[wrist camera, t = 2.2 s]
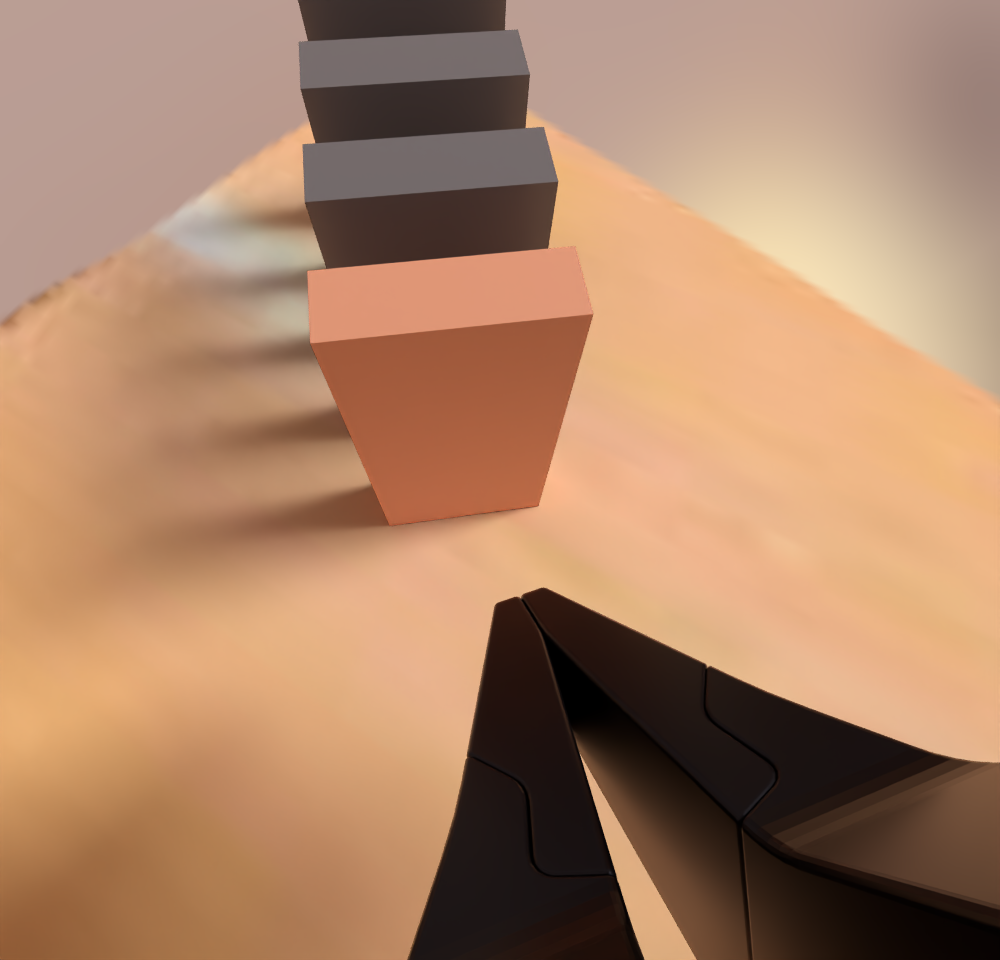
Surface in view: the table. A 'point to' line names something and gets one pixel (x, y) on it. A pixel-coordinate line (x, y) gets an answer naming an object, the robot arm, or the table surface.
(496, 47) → the domino
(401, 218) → the domino
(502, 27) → the domino
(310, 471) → the table surface
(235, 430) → the table surface
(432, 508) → the domino
